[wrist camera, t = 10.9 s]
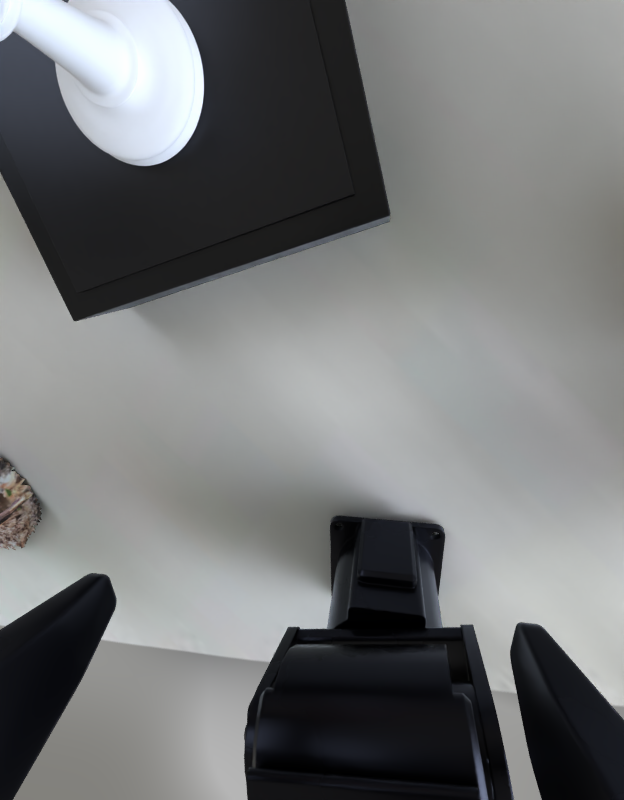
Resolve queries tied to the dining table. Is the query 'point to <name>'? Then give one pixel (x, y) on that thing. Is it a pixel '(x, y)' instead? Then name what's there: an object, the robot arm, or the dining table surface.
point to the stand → (200, 159)
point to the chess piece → (119, 70)
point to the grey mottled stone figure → (16, 508)
